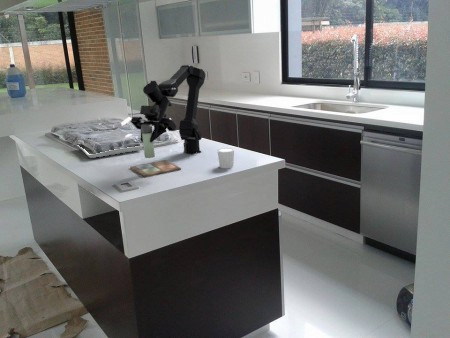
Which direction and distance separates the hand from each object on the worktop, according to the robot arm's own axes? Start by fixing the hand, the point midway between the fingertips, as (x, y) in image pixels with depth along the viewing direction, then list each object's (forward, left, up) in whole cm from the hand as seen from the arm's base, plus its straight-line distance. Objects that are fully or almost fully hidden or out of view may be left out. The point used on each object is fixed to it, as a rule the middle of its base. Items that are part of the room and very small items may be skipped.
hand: (146, 141), depth 170 cm
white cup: (-29, +12, -13) cm, 34 cm away
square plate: (+1, -51, -14) cm, 53 cm away
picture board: (-4, -4, -13) cm, 14 cm away
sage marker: (-1, -1, -7) cm, 7 cm away
